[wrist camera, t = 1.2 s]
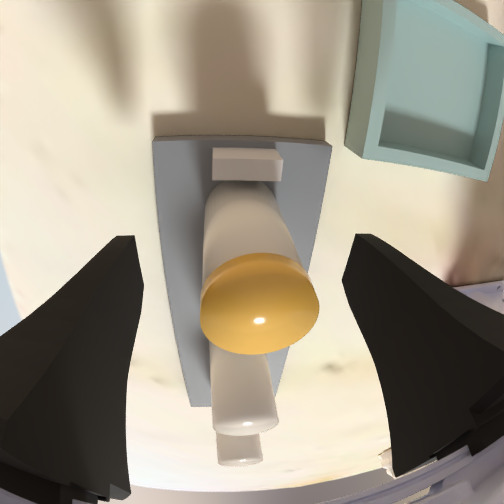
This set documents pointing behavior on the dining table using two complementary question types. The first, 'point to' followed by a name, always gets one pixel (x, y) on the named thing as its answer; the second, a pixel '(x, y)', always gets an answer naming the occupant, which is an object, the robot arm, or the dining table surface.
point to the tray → (427, 87)
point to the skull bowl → (387, 463)
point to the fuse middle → (241, 393)
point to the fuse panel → (193, 212)
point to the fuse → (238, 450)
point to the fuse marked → (252, 273)
